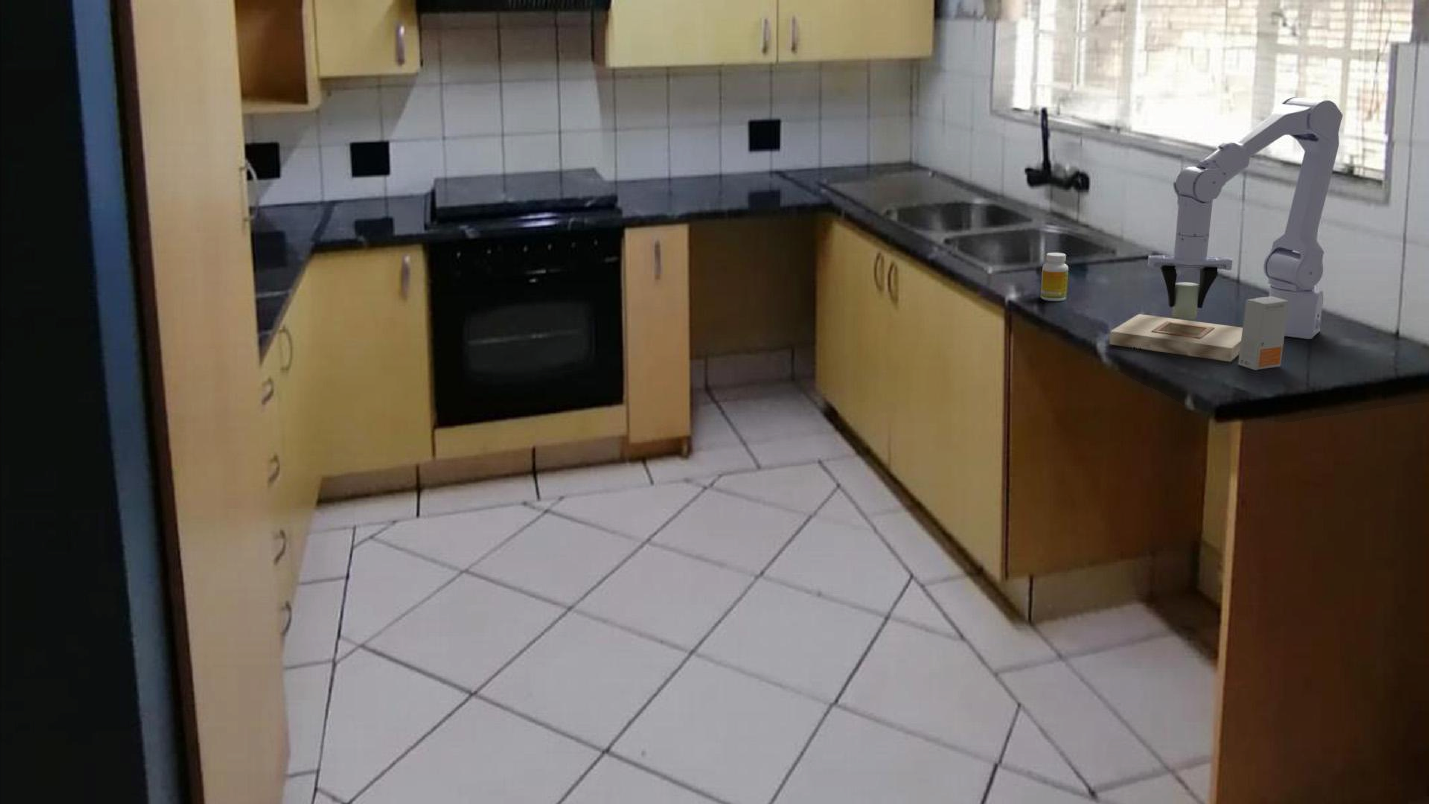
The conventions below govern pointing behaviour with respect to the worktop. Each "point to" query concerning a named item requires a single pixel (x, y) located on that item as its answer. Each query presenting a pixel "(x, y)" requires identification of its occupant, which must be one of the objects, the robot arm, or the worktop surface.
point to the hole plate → (1179, 337)
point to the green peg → (1186, 300)
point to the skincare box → (1263, 332)
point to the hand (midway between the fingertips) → (1185, 306)
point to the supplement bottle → (1054, 277)
